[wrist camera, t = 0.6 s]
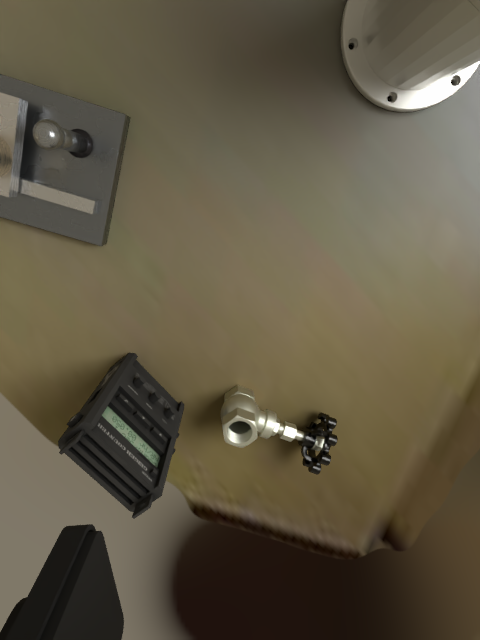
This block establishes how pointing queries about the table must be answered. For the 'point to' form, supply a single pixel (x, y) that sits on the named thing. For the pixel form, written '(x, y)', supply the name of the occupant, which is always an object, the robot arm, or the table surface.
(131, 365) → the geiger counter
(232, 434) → the valve
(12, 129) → the sliding carriage with knob
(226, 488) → the table surface
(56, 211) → the plate
